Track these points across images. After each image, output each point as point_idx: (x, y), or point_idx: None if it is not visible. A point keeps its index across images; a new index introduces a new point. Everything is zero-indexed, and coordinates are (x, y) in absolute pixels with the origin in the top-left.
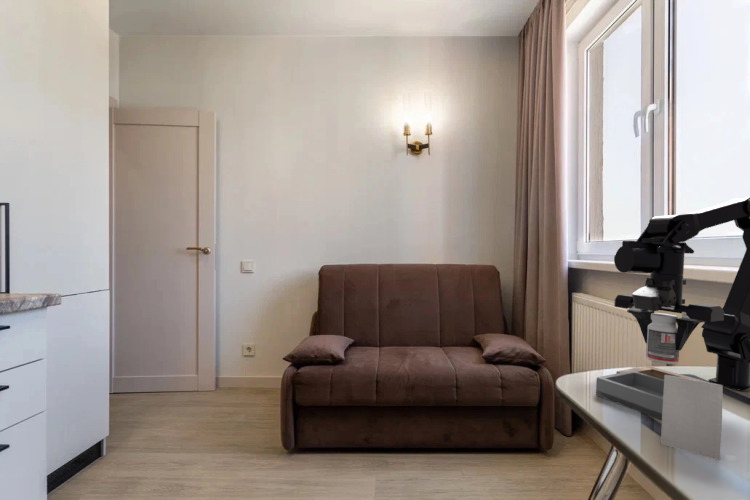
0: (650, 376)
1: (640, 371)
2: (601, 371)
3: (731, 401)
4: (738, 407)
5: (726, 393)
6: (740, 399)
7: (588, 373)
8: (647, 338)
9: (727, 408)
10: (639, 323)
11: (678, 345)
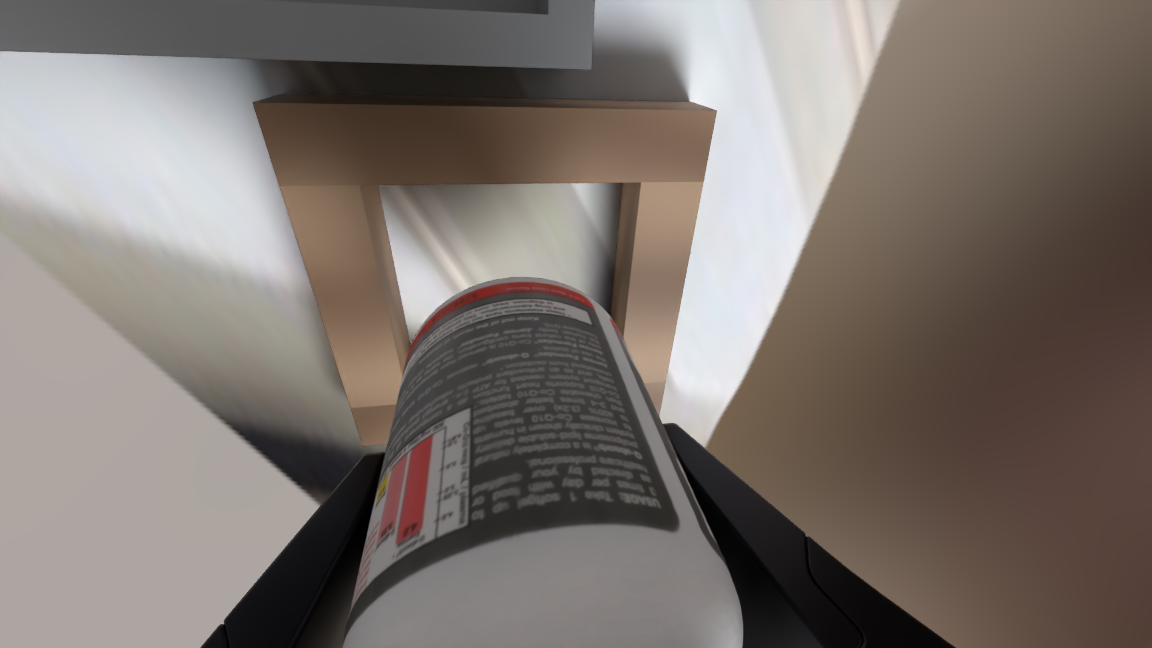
0: (416, 34)
1: (629, 284)
2: (810, 196)
3: (236, 384)
4: (143, 332)
5: (340, 458)
6: (259, 442)
7: (859, 57)
8: (654, 427)
9: (124, 259)
10: (862, 592)
11: (339, 492)
